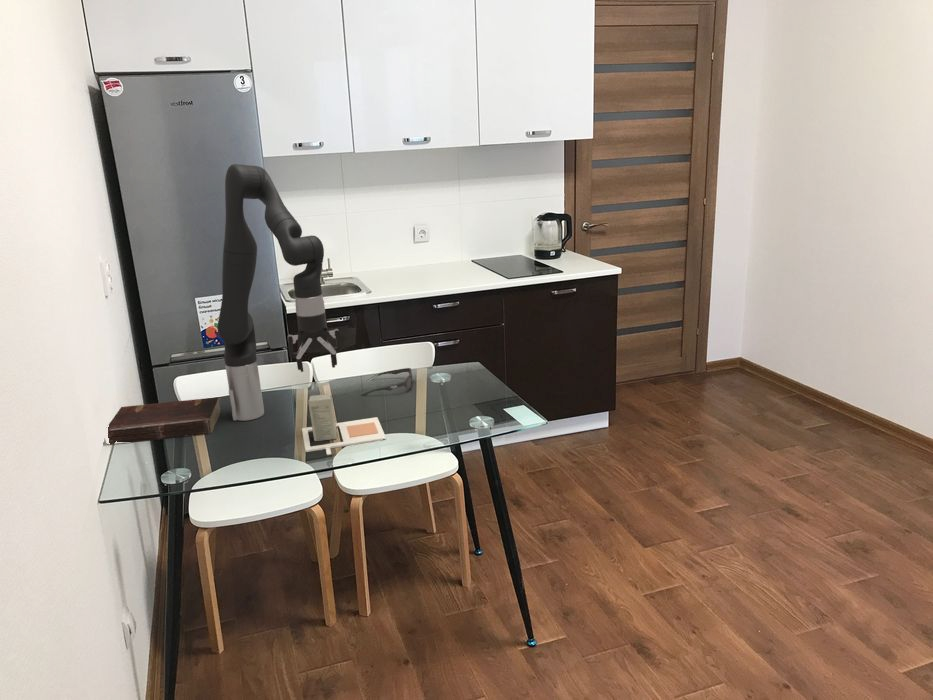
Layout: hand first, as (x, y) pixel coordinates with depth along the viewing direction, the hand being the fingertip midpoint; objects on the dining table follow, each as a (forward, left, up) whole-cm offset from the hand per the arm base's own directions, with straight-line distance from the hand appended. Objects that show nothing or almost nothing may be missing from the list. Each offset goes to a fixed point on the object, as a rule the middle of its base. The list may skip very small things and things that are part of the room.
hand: (317, 368), depth 204 cm
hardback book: (-45, +26, -21) cm, 56 cm away
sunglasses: (+23, +34, -21) cm, 46 cm away
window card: (+5, -2, -20) cm, 21 cm away
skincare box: (0, 0, -21) cm, 21 cm away
